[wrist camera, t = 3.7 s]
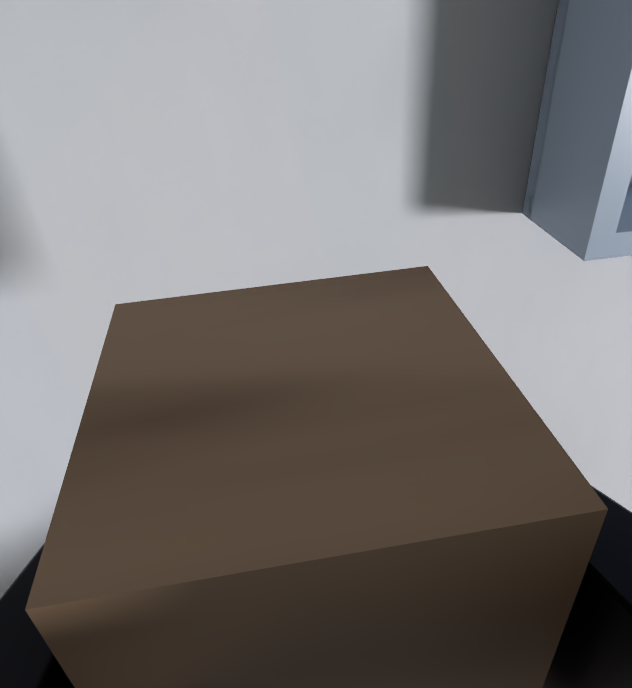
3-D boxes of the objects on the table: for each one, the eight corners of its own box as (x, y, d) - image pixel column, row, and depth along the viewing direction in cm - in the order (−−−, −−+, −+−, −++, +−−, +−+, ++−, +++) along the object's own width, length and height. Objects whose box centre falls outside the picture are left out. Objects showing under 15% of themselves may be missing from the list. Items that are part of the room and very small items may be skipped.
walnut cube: (414, 476, 12) (521, 743, 8) (179, 514, 11) (159, 821, 7) (427, 266, 9) (608, 509, 5) (115, 304, 9) (25, 609, 4)
